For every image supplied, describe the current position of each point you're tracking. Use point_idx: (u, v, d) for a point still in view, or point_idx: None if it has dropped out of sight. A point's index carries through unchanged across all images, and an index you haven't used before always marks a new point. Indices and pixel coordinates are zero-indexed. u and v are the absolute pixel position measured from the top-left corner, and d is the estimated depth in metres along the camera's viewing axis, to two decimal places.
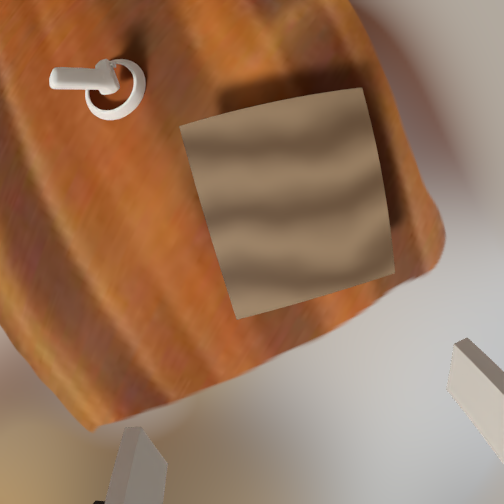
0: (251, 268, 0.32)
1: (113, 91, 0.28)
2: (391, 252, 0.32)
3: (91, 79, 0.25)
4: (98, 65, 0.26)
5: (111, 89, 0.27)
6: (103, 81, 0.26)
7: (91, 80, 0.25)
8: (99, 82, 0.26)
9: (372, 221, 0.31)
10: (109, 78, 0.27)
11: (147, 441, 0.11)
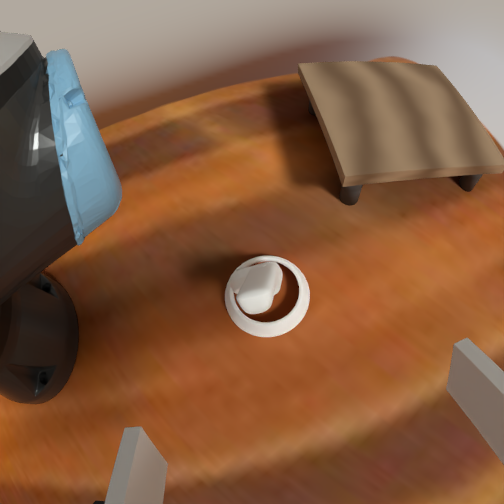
0: (465, 144, 0.26)
1: None
2: (422, 65, 0.33)
3: (265, 271, 0.23)
4: (239, 280, 0.25)
5: (279, 267, 0.25)
6: (269, 265, 0.24)
7: (267, 270, 0.23)
8: (271, 267, 0.24)
9: (404, 70, 0.32)
10: (264, 263, 0.25)
11: (147, 441, 0.11)
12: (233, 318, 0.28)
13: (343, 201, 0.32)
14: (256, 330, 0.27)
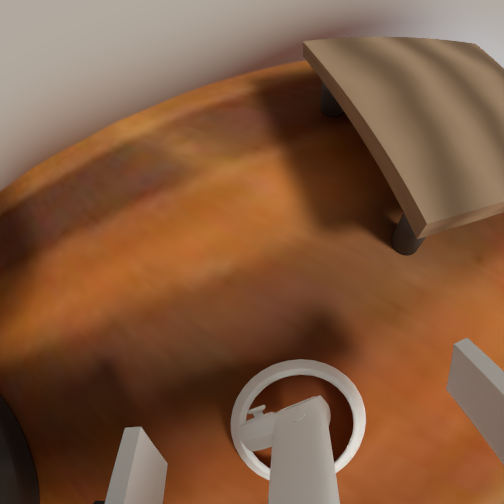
0: None
1: (327, 404, 0.13)
2: (461, 42, 0.21)
3: (310, 442, 0.10)
4: (257, 440, 0.12)
5: (326, 406, 0.13)
6: (312, 418, 0.11)
7: (313, 442, 0.10)
8: (318, 424, 0.11)
9: (445, 49, 0.21)
10: (301, 408, 0.12)
11: (147, 441, 0.11)
12: (249, 466, 0.15)
13: (399, 251, 0.19)
14: None
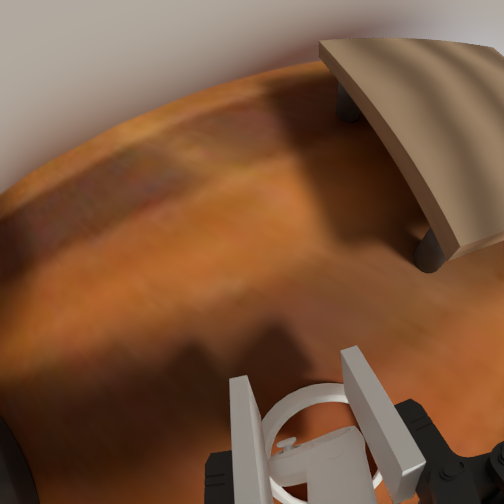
0: None
1: (362, 436, 0.11)
2: (479, 46, 0.20)
3: (351, 483, 0.08)
4: (289, 477, 0.10)
5: (362, 438, 0.11)
6: (351, 454, 0.10)
7: (355, 482, 0.08)
8: (358, 462, 0.09)
9: (465, 52, 0.19)
10: (337, 443, 0.10)
11: (251, 390, 0.13)
12: (272, 495, 0.13)
13: (422, 268, 0.18)
14: None
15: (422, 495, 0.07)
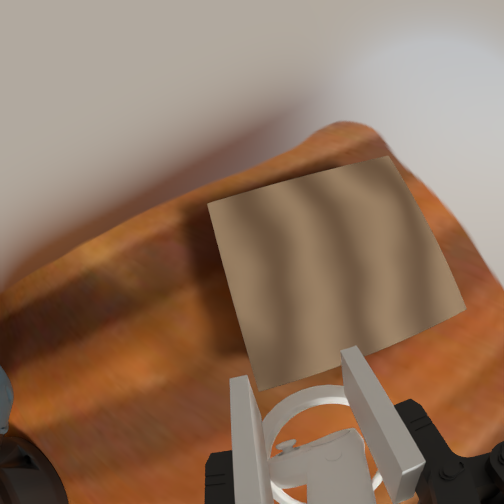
0: (413, 299, 0.25)
1: (362, 438, 0.11)
2: (370, 161, 0.31)
3: (351, 485, 0.08)
4: (288, 479, 0.10)
5: (361, 440, 0.11)
6: (350, 457, 0.10)
7: (354, 485, 0.08)
8: (357, 464, 0.09)
9: (344, 182, 0.31)
10: (337, 445, 0.10)
11: (251, 390, 0.13)
12: None
13: None
14: None
15: (422, 495, 0.07)
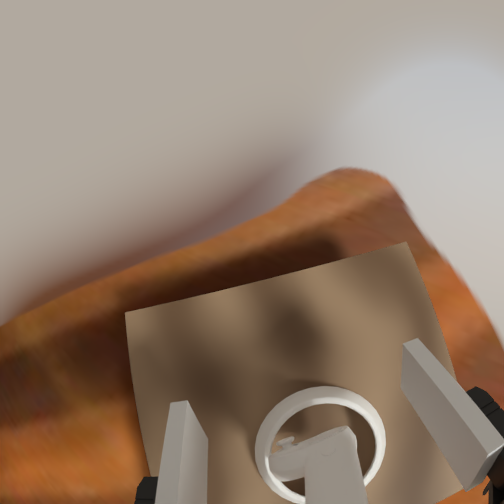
0: (404, 479, 0.14)
1: (354, 435, 0.13)
2: (376, 252, 0.20)
3: (343, 477, 0.09)
4: (288, 472, 0.11)
5: (353, 437, 0.12)
6: (343, 451, 0.11)
7: (346, 476, 0.09)
8: (349, 458, 0.10)
9: (330, 292, 0.20)
10: (331, 441, 0.12)
11: (192, 415, 0.12)
12: (274, 490, 0.14)
13: None
14: None
15: (496, 473, 0.06)
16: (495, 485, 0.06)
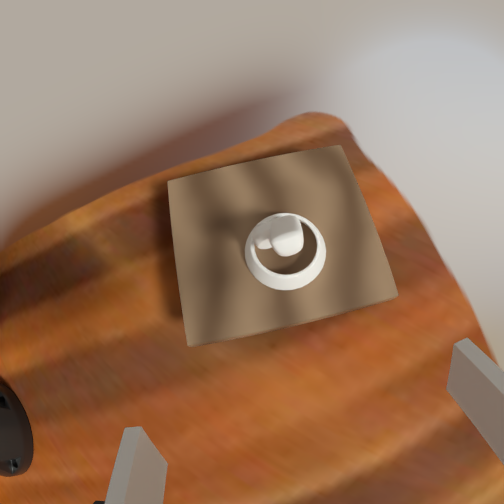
0: (341, 279, 0.29)
1: (299, 222, 0.27)
2: (320, 149, 0.34)
3: (289, 220, 0.24)
4: (262, 233, 0.26)
5: None
6: (290, 216, 0.25)
7: (290, 220, 0.24)
8: (293, 217, 0.25)
9: (291, 167, 0.34)
10: (285, 216, 0.26)
11: (147, 441, 0.11)
12: (256, 274, 0.29)
13: None
14: (279, 283, 0.28)
15: None
16: None
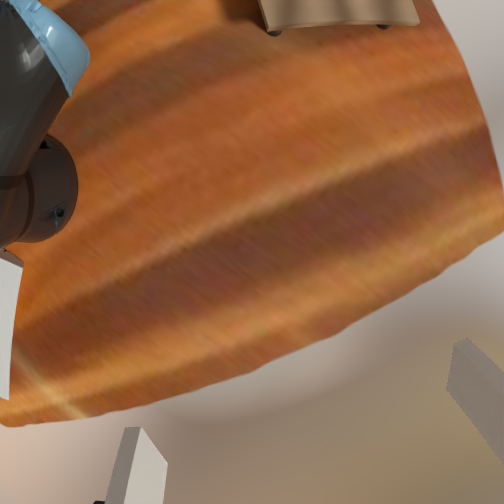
0: (381, 1, 0.27)
1: None
2: None
3: None
4: None
5: None
6: None
7: None
8: None
9: None
10: None
11: (147, 441, 0.11)
12: None
13: (269, 33, 0.33)
14: None
15: None
16: None
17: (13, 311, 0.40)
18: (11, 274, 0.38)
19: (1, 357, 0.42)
